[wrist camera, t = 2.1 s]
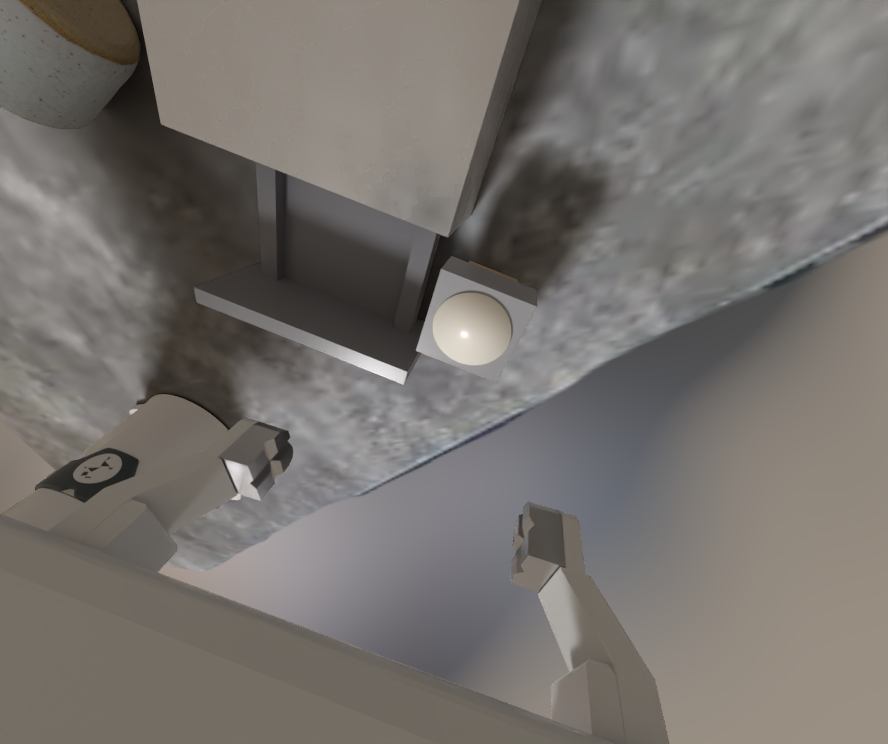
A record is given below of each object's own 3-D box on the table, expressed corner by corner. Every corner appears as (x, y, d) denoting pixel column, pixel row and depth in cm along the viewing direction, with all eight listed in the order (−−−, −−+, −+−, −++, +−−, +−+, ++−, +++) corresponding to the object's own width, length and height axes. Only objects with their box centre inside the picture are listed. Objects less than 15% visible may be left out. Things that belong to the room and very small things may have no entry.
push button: (499, 360, 24) (496, 384, 22) (427, 331, 24) (415, 351, 22) (536, 289, 21) (537, 307, 18) (451, 255, 21) (440, 269, 18)
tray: (427, 345, 29) (400, 394, 23) (268, 282, 29) (198, 314, 23) (489, 159, 20) (471, 159, 14) (260, 69, 20) (145, 31, 14)
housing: (471, 215, 23) (447, 237, 16) (265, 134, 23) (160, 124, 16) (576, -103, 14) (614, -316, 8) (254, -229, 15) (33, -540, 8)
